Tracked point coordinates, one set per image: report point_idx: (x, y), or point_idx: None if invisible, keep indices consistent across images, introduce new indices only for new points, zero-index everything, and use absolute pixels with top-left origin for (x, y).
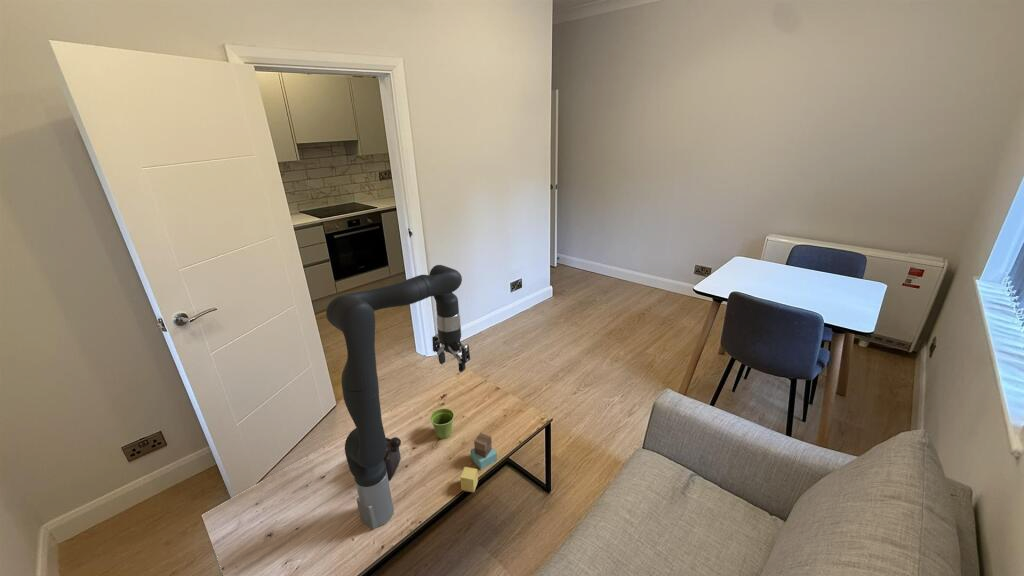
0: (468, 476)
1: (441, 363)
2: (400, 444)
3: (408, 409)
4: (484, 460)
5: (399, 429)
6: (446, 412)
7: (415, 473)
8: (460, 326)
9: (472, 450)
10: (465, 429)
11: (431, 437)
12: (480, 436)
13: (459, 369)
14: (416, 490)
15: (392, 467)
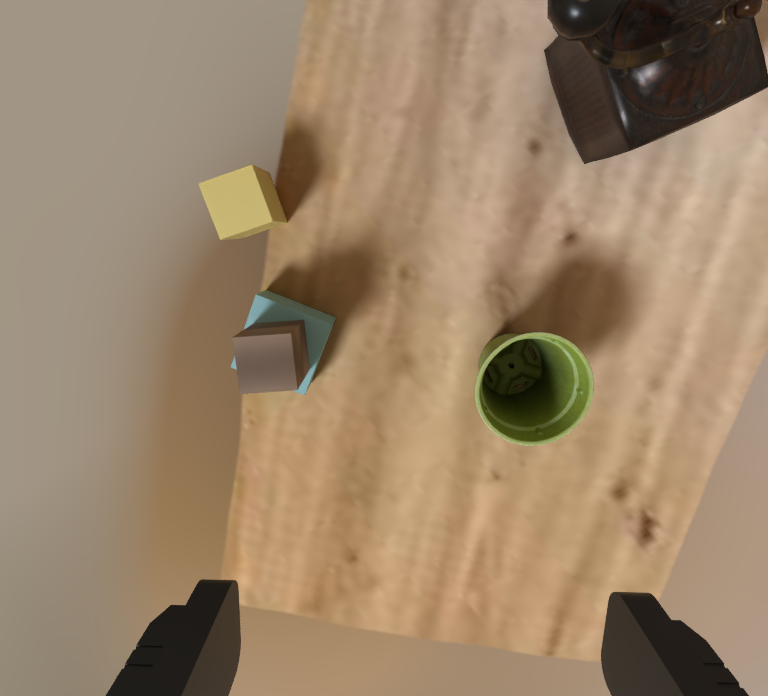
0: (225, 186)
1: (620, 604)
2: (548, 15)
3: (738, 395)
4: (250, 311)
5: (696, 285)
6: (541, 429)
7: (476, 137)
8: None
9: (322, 327)
10: (444, 423)
11: (541, 320)
12: (283, 370)
13: (204, 609)
14: (417, 74)
15: (566, 71)
